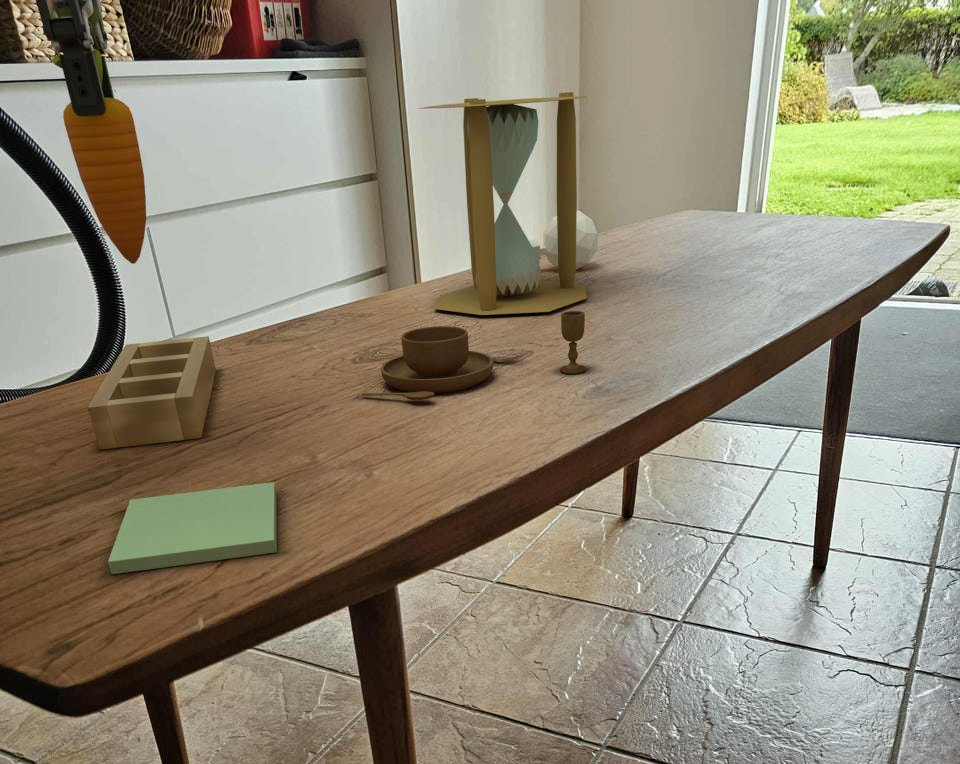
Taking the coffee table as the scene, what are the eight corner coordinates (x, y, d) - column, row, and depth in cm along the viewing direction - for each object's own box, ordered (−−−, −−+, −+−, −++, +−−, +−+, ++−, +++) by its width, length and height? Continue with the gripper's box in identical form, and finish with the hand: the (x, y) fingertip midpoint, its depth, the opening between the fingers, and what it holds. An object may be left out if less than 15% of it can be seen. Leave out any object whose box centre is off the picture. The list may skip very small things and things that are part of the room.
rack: (99, 450, 83) (87, 407, 80) (134, 380, 103) (125, 344, 101) (201, 438, 84) (192, 395, 82) (216, 371, 104) (208, 336, 102)
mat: (111, 574, 60) (107, 561, 60) (133, 511, 70) (129, 499, 69) (276, 552, 62) (274, 539, 61) (276, 493, 71) (274, 481, 70)
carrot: (161, 265, 70) (109, 34, 62) (95, 271, 70) (34, 39, 62) (168, 256, 74) (120, 39, 67) (106, 261, 74) (50, 43, 66)
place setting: (430, 355, 105) (425, 302, 102) (591, 366, 97) (592, 309, 94) (347, 398, 92) (339, 339, 89) (526, 416, 84) (525, 352, 81)
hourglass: (469, 283, 142) (459, 98, 129) (608, 284, 134) (611, 89, 121) (406, 316, 123) (385, 105, 110) (562, 320, 116) (560, 94, 103)
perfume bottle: (593, 249, 151) (523, 264, 151) (590, 194, 144) (517, 210, 144) (605, 274, 145) (532, 290, 146) (603, 219, 138) (527, 235, 139)
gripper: (-11, -163, 63) (62, 117, 72) (-74, -224, 51) (22, 120, 60) (100, -165, 64) (158, 110, 73) (63, -226, 52) (138, 113, 61)
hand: (96, 113), depth 67 cm, fingers closed on carrot, 5 cm apart
